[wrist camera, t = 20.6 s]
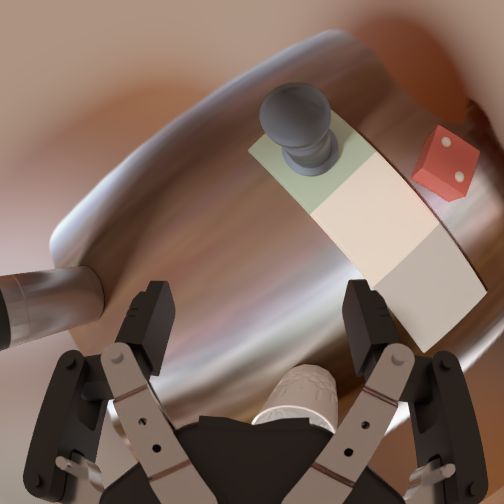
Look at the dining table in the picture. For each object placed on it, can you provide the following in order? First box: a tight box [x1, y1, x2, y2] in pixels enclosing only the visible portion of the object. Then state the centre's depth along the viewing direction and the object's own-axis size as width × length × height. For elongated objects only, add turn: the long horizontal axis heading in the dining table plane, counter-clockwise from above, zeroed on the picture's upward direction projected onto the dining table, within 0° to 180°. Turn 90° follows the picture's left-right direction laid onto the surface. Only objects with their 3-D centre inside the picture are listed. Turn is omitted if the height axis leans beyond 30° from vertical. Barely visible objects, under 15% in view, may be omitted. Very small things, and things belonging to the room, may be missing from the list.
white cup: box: [252, 364, 338, 434], centre depth 26 cm, size 8×8×10 cm
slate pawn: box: [259, 83, 339, 177], centre depth 24 cm, size 6×6×10 cm
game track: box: [247, 110, 487, 353], centre depth 28 cm, size 10×30×1 cm, turn 42°
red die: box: [410, 125, 480, 202], centre depth 23 cm, size 5×5×6 cm
